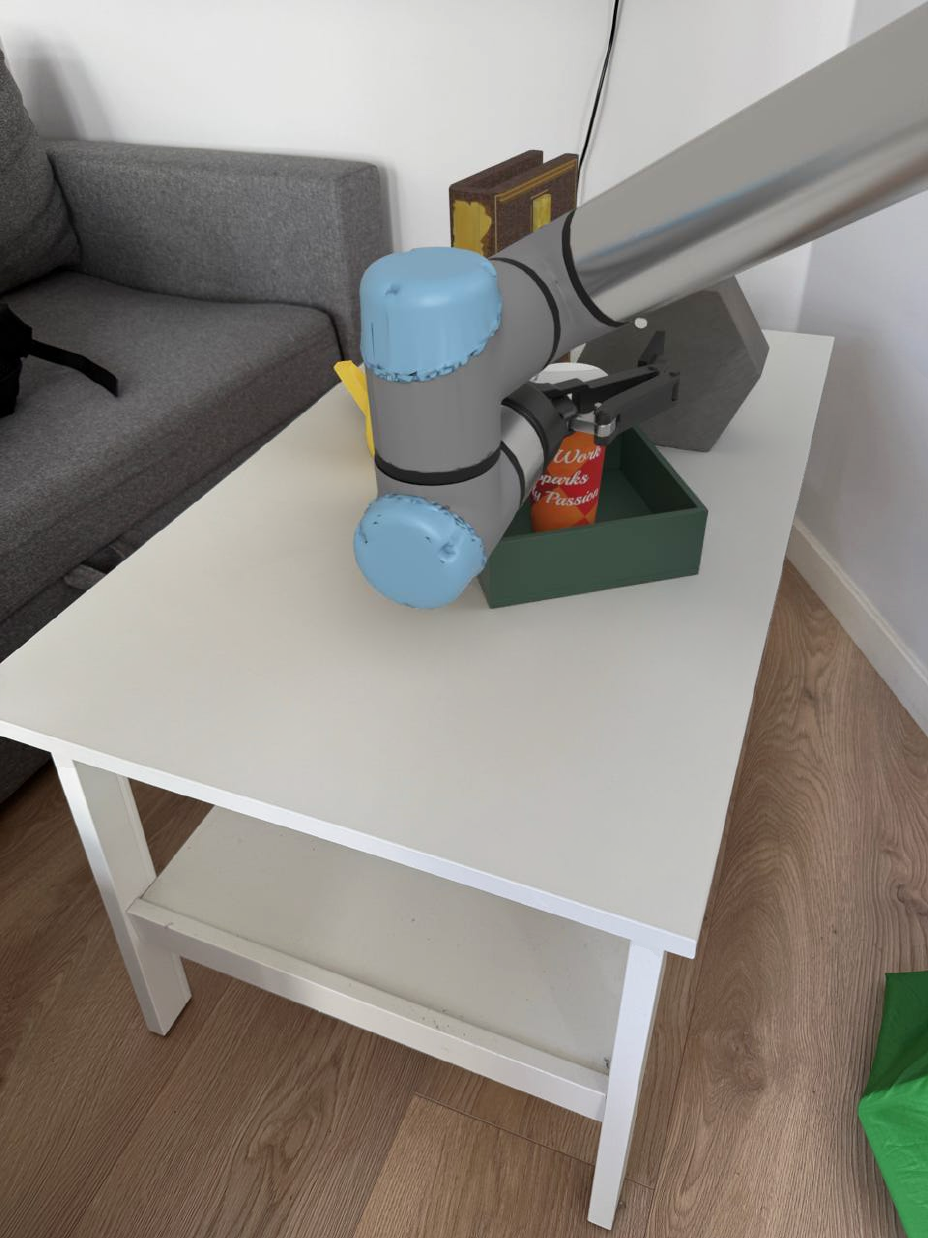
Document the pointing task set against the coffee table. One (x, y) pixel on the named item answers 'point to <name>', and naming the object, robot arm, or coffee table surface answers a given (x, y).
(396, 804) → the coffee table surface
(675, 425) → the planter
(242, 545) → the coffee table surface
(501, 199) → the book
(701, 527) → the bin
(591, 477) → the coffee cup
